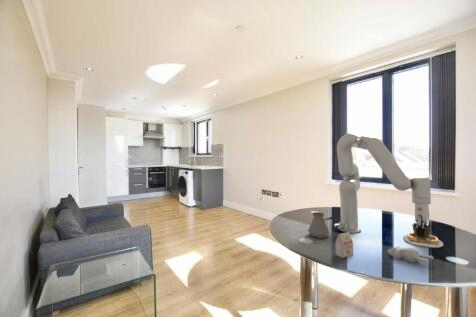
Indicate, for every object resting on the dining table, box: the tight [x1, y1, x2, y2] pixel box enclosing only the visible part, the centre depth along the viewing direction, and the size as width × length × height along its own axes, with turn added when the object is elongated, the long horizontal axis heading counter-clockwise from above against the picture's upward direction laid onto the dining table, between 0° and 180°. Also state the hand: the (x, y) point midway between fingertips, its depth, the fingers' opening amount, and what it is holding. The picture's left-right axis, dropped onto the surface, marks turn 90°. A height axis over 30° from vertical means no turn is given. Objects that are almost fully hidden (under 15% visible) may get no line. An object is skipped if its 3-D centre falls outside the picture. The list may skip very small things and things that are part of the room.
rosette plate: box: [402, 231, 444, 249], centre depth 116 cm, size 16×16×3 cm
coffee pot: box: [307, 211, 343, 239], centre depth 123 cm, size 21×12×15 cm, turn 27°
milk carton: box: [335, 232, 354, 259], centre depth 102 cm, size 4×7×10 cm, turn 113°
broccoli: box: [412, 222, 432, 240], centre depth 116 cm, size 8×7×8 cm
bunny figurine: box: [387, 246, 435, 264], centre depth 95 cm, size 10×5×15 cm
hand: (421, 233), depth 116 cm, fingers open, 8 cm apart
